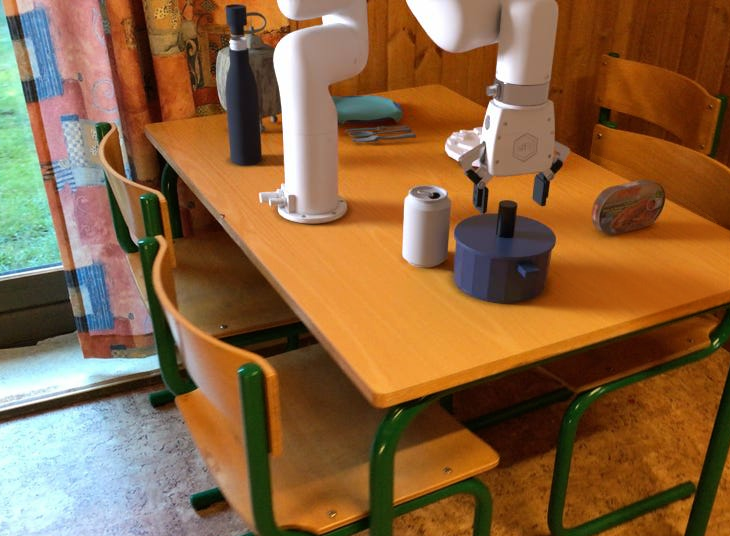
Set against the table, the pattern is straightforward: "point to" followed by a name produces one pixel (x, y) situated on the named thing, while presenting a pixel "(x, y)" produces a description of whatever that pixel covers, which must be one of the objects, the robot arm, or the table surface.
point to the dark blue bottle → (241, 94)
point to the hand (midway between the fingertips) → (509, 206)
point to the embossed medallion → (463, 143)
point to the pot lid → (505, 235)
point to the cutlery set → (369, 116)
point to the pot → (500, 277)
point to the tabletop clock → (255, 73)
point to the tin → (628, 206)
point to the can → (426, 226)
